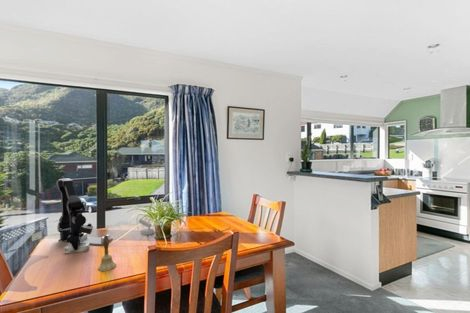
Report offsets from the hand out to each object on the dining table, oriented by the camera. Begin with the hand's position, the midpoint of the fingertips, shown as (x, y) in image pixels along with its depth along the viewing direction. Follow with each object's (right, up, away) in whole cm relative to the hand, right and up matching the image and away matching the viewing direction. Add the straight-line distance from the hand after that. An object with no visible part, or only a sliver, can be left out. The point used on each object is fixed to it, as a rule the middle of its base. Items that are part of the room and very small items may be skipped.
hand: (77, 248), depth 156 cm
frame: (0, -1, 0) cm, 1 cm away
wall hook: (+30, +1, +30) cm, 42 cm away
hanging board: (+3, 0, +14) cm, 14 cm away
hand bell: (+27, -2, -21) cm, 35 cm away
